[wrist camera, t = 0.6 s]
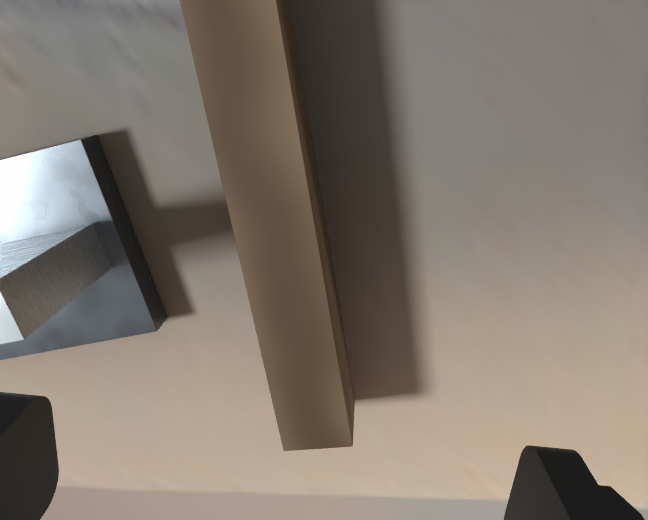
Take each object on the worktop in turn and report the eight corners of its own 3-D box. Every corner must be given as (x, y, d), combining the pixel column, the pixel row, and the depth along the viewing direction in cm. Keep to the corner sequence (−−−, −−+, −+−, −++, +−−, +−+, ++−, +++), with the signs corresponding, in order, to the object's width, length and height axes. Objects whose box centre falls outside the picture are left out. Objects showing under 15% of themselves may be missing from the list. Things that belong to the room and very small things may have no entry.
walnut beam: (283, -39, 22) (265, -58, 18) (354, 397, 30) (352, 446, 26) (204, -23, 22) (171, -38, 19) (294, 402, 30) (283, 450, 26)
